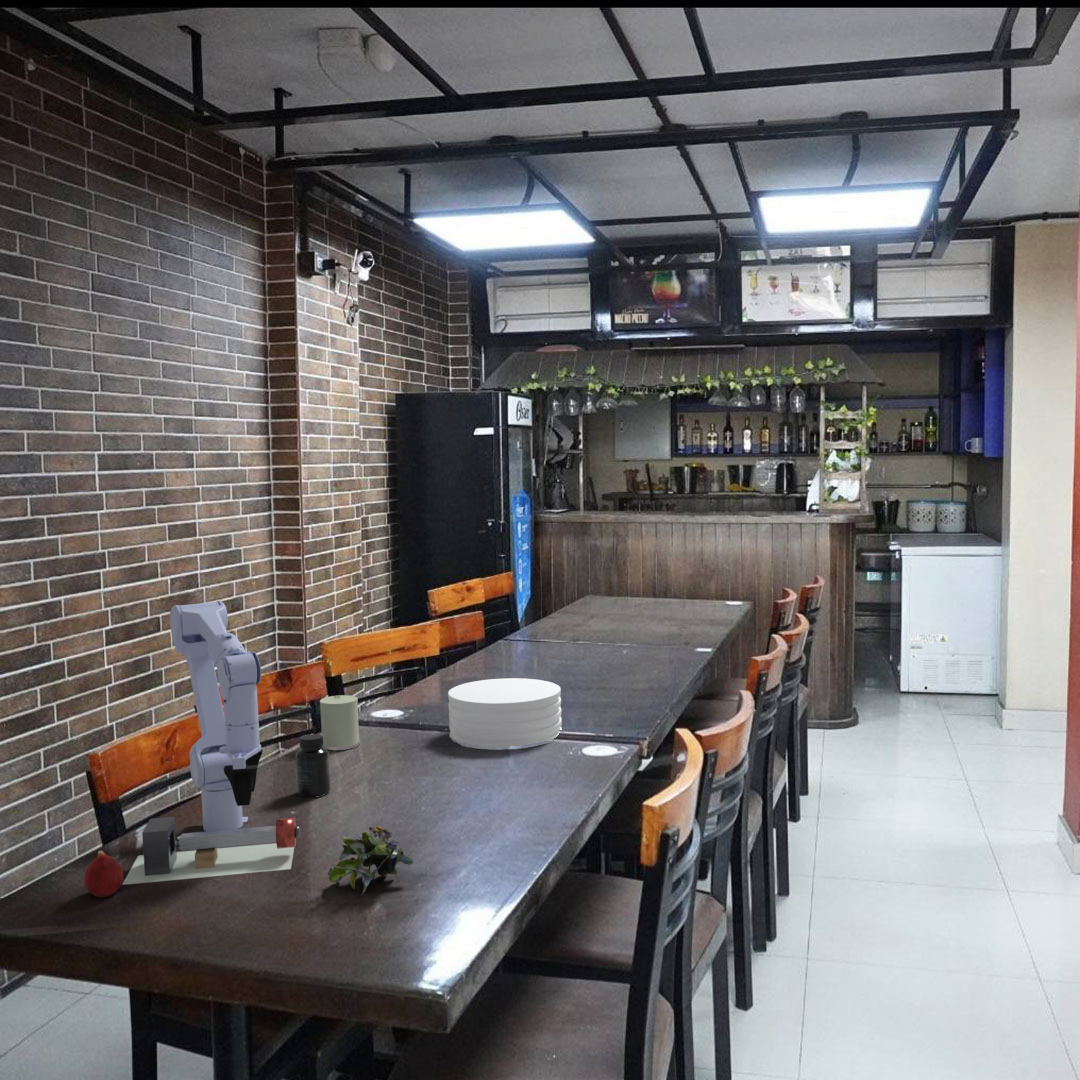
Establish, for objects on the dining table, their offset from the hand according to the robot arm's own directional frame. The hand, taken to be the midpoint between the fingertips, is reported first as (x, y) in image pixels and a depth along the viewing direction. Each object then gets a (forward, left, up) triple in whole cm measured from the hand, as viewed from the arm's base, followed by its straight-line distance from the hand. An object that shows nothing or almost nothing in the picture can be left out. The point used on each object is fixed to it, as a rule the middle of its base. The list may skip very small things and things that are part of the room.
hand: (245, 798), depth 186 cm
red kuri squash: (+14, -21, -11) cm, 27 cm away
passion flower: (+19, +21, -11) cm, 30 cm away
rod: (+4, -1, -8) cm, 9 cm away
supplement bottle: (-33, +10, -11) cm, 36 cm away
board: (+4, -6, -10) cm, 13 cm away
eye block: (+4, -14, -9) cm, 17 cm away
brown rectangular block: (+4, -7, -9) cm, 12 cm away
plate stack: (-68, +55, -11) cm, 89 cm away
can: (-69, +15, -11) cm, 72 cm away
